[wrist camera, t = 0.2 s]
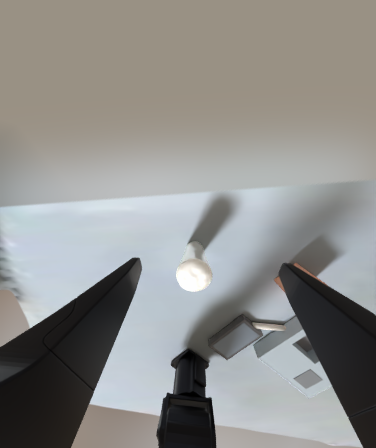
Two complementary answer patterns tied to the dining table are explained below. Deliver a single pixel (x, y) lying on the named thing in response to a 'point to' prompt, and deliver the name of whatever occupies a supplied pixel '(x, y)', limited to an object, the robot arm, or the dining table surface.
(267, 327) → the off-white rounded rod
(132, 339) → the dining table surface
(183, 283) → the milkshake
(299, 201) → the dining table surface
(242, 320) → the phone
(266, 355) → the outlet plate
